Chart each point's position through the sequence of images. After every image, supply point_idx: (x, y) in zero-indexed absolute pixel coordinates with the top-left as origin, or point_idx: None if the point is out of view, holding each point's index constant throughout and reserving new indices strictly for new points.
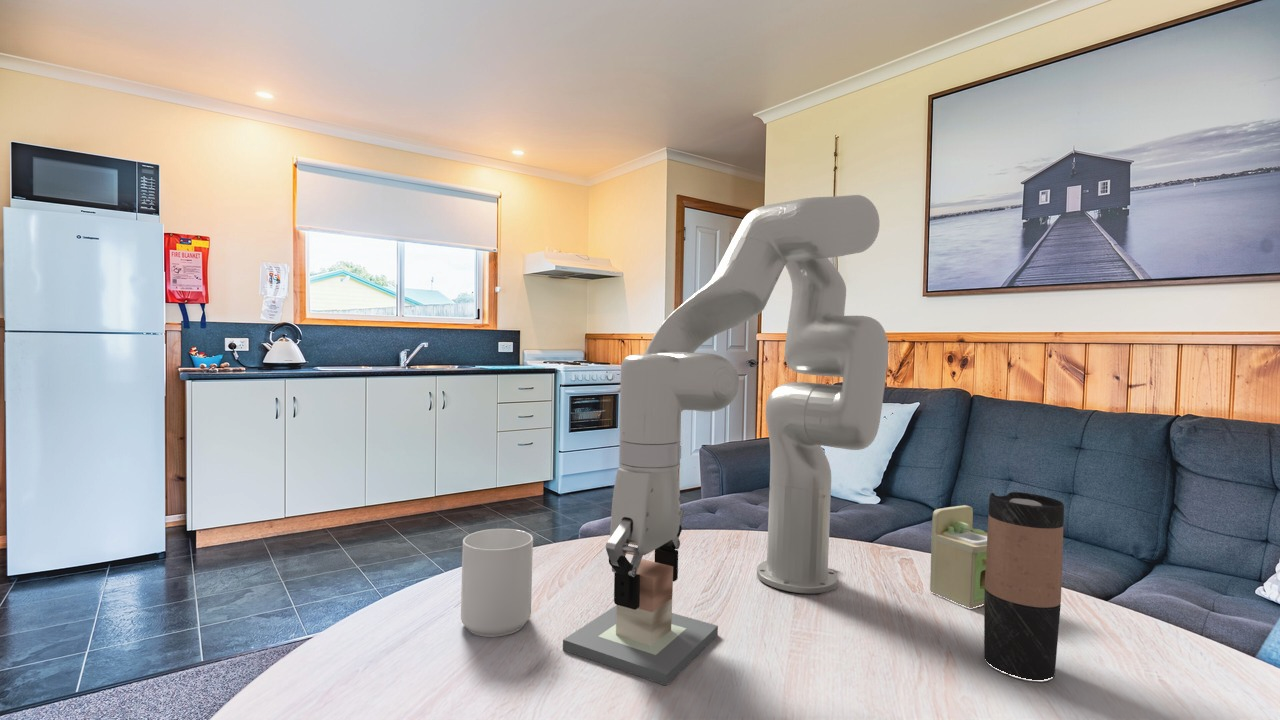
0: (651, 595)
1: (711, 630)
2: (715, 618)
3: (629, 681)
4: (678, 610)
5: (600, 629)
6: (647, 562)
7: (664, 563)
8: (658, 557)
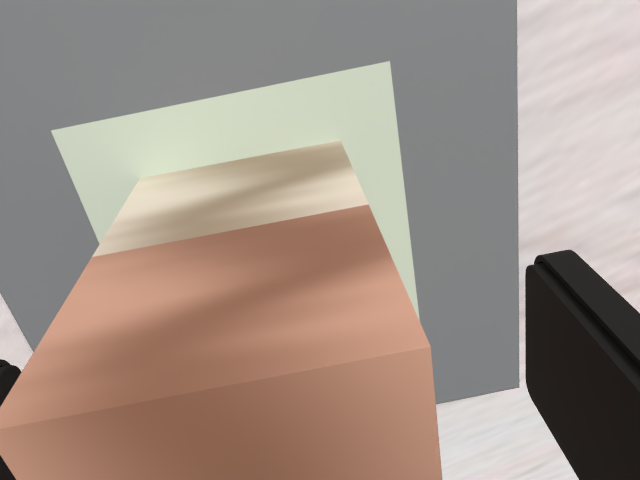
0: None
1: (467, 395)
2: (633, 284)
3: (22, 368)
4: (630, 133)
5: (111, 80)
6: (382, 464)
7: (586, 409)
8: (612, 396)
